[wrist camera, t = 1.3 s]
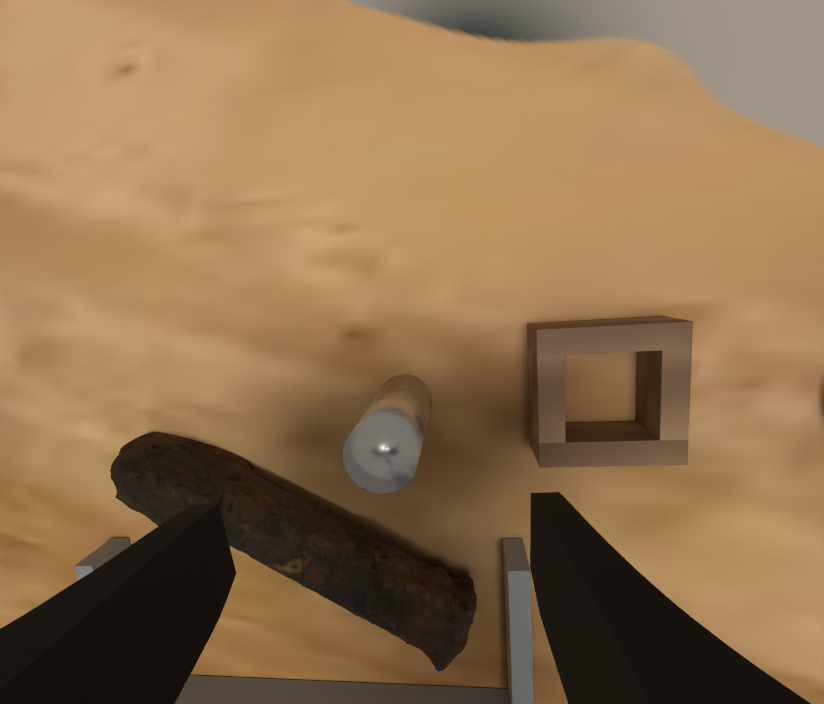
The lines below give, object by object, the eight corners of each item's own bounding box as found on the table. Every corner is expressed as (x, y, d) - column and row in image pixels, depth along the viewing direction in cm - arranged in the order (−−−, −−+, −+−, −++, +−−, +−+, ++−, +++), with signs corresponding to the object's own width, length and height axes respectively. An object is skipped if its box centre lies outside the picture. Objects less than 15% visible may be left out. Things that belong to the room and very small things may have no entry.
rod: (433, 424, 21) (420, 493, 15) (381, 426, 22) (346, 494, 15) (429, 373, 21) (415, 419, 14) (377, 375, 21) (339, 422, 15)
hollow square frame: (659, 442, 20) (687, 465, 18) (530, 445, 21) (539, 467, 19) (663, 316, 19) (692, 321, 17) (527, 323, 20) (536, 329, 18)
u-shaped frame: (527, 705, 24) (535, 754, 21) (142, 687, 26) (109, 729, 24) (522, 538, 22) (530, 571, 20) (112, 537, 25) (74, 565, 22)
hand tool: (482, 568, 23) (487, 640, 18) (443, 622, 24) (439, 705, 19) (175, 388, 23) (105, 415, 19) (148, 448, 24) (74, 488, 19)
